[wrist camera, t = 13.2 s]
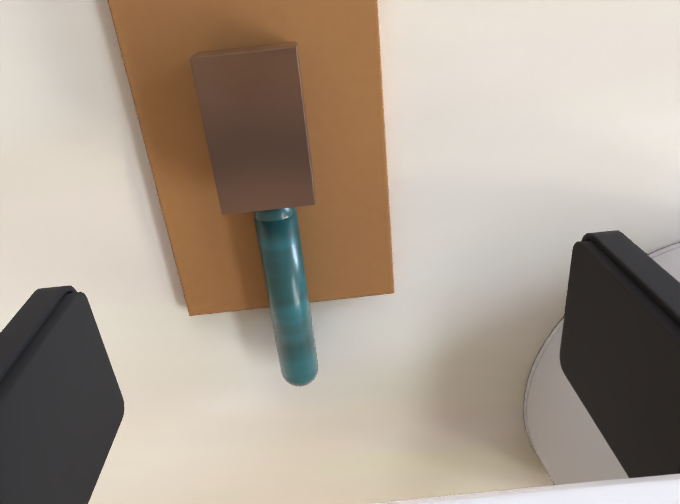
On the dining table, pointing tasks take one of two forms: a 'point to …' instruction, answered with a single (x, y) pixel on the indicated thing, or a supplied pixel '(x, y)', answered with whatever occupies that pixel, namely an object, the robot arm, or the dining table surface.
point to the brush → (265, 175)
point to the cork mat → (323, 129)
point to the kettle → (572, 411)
